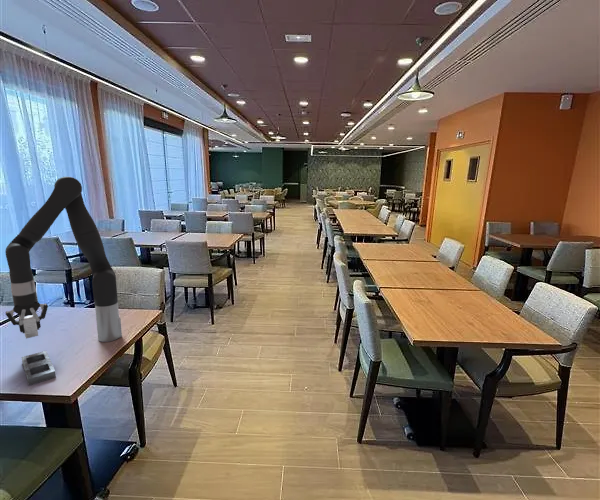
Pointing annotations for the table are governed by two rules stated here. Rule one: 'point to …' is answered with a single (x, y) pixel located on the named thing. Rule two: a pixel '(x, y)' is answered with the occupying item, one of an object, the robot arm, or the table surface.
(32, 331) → the steel peg
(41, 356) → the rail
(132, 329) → the table surface
